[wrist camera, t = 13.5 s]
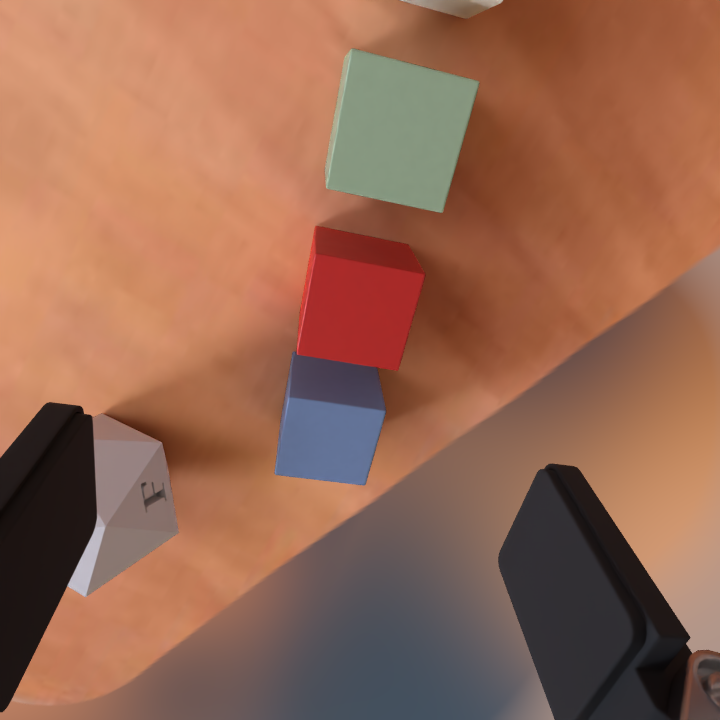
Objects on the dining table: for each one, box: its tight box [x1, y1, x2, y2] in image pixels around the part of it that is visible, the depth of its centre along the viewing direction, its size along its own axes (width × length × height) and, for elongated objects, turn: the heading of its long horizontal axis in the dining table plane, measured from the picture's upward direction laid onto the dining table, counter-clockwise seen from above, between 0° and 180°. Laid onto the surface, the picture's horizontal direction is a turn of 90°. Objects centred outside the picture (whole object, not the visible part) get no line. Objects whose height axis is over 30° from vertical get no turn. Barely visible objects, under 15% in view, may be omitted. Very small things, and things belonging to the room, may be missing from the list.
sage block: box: [325, 48, 480, 213], centre depth 22 cm, size 5×5×5 cm
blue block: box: [275, 352, 386, 485], centre depth 29 cm, size 5×5×5 cm
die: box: [68, 413, 179, 597], centre depth 29 cm, size 8×9×10 cm
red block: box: [296, 226, 426, 371], centre depth 26 cm, size 5×5×5 cm
